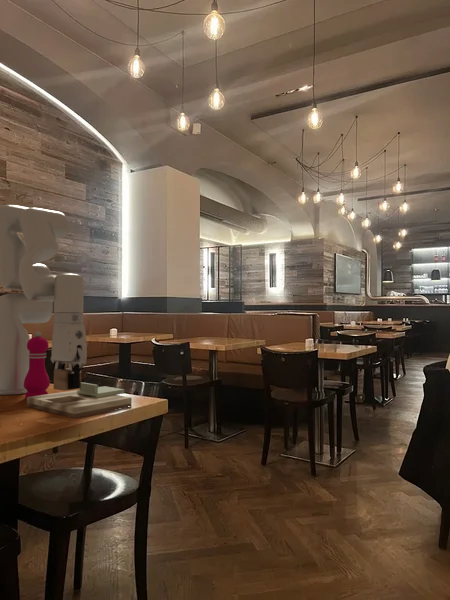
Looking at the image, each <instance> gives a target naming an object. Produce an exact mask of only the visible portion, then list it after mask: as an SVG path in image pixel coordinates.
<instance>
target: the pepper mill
mask: <svg viewBox="0 0 450 600" xmlns="http://www.w3.org/2000/svg"><path fill="white" fill-rule="evenodd" d="M27 349H28V350H29V357H28V358H29V370H28V373H27V375H26V377H25V380H24V388H25V389H26V390H27V392H26V393H24V399H25V400H26V401H27V397H32V396H39V395H46V394H49V392H48V391H47V389H48V388H49V387H50V384H51V383H50V382H51V381H50V376H49V375H48V372H47V369H46V365H45V364H46V363H45V362H46V358H47V352H46V351H47V350H48V349H49V341H48V339H47V338H45V337H42V332H40V331H35V333H34V336H33V337H31V338H30V340H29V341H28V343H27Z"/></svg>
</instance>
